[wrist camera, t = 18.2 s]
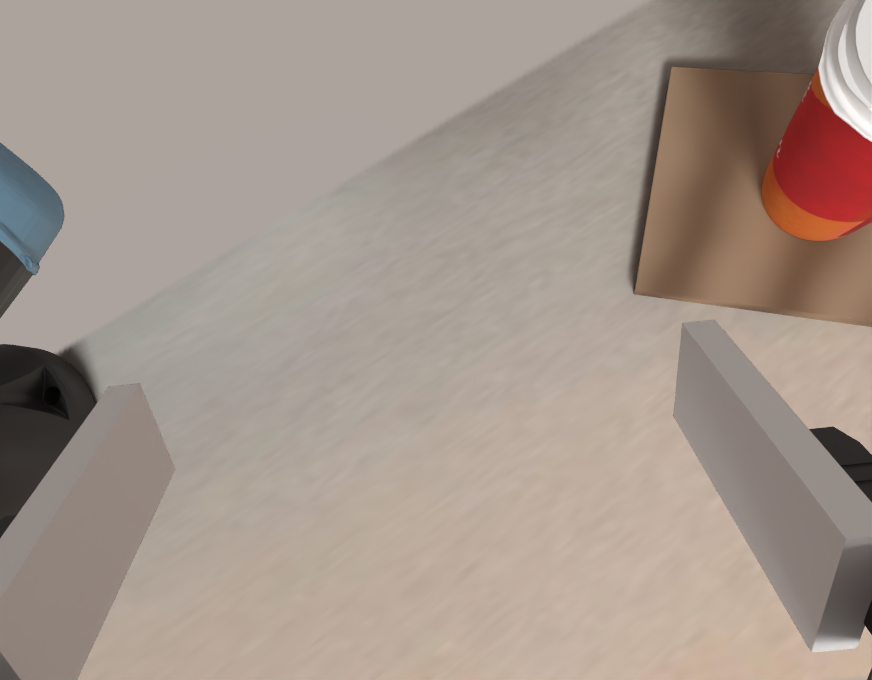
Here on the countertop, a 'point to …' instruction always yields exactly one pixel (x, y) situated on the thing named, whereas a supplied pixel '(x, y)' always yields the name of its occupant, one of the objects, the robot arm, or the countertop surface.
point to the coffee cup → (829, 139)
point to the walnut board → (739, 207)
